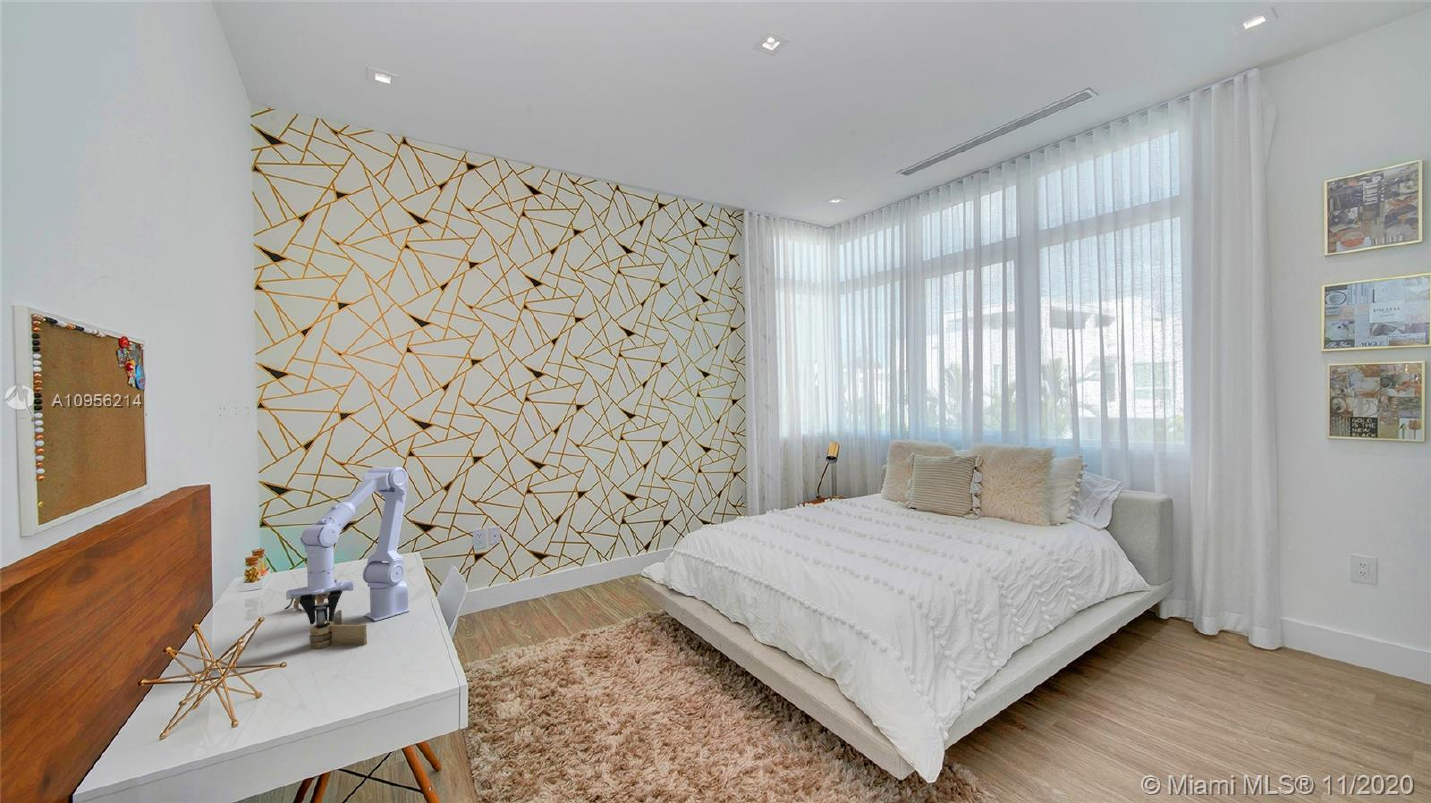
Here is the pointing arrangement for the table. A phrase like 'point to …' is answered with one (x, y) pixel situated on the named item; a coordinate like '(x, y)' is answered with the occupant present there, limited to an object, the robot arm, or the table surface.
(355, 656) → the table surface
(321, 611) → the hinge pin
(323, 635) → the leaf
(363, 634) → the tan hinge leaf
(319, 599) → the lion figurine
